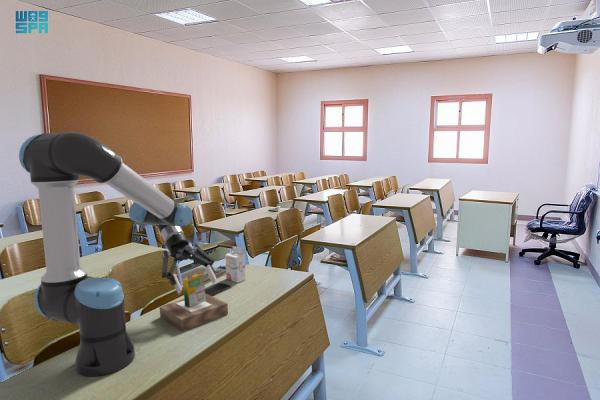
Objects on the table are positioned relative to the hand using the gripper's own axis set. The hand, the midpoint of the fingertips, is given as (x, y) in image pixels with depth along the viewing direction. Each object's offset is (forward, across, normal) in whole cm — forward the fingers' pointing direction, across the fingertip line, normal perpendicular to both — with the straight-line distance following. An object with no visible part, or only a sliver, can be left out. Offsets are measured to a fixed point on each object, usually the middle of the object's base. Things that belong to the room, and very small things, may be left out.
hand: (198, 286), depth 139 cm
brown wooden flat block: (+6, +1, -10) cm, 11 cm away
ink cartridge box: (-8, -32, -25) cm, 41 cm away
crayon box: (+3, 0, -7) cm, 7 cm away
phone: (-5, -17, -21) cm, 28 cm away
